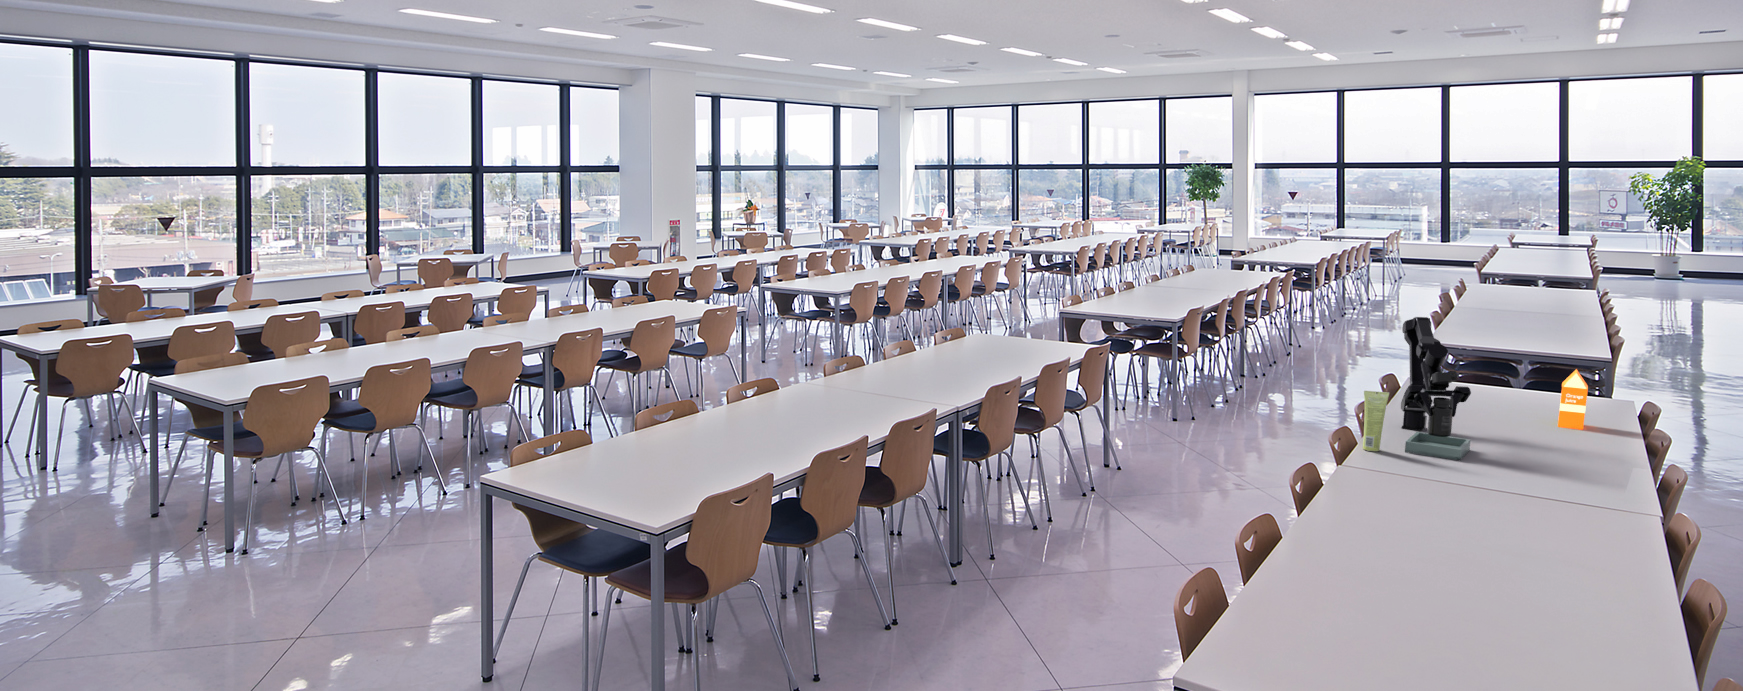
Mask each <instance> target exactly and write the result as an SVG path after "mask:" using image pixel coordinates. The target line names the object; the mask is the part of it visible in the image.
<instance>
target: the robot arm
mask: <svg viewBox="0 0 1743 691" xmlns="http://www.w3.org/2000/svg"><path fill="white" fill-rule="evenodd" d="M1402 334H1403V336H1404V337H1403V338H1404V341H1405V342H1406V344H1408V346H1409V348H1408V349H1409V385H1408V386H1407V388H1406V389H1405V392H1404V394H1403V397H1402V399H1401V401H1400V410H1401V412H1403V422H1402V426H1401V429H1405V430H1413V431H1418V432H1422V431H1423V430H1424V429H1425V428H1427V421H1428V420H1427V418H1428V417H1429V416H1431V415H1432V414H1431V409H1430V407H1431V406H1433V405H1432V404H1433V400H1434V399H1432V397H1443V398H1448V397H1449V399H1450V405H1449V407H1451V408H1452V410H1453V417H1452V418H1454V417H1455V416H1456V412H1457V406H1458V404H1459V403H1465V402H1467V400H1468V399H1469V397H1470V396H1471V394H1472V391H1471V388H1470V387H1468V386H1459V385H1458V386H1455V388H1454V389H1452V390H1451V389H1450V390H1449V389H1448V388H1449V387H1450V384H1452V383H1453V382H1454V383H1455V382H1456V381H1458V373H1457V371H1456V370H1450V371H1448V372H1446V371H1445V372H1443V370H1442V369H1443V368H1442V366H1443V365H1444V364H1445V360H1446V359H1447V356H1448V352H1449V351H1448V348H1447V347H1446V346H1445V345H1443V344H1442V343H1441V341H1440V340H1439V339H1438V338H1435V337H1434V334H1433V329H1432V321H1431V318H1430V317H1427V316H1426V317H1425V316H1415V317H1413V318H1410V319H1407V320H1405V321H1404V322H1403V323H1402ZM1426 414H1427V415H1428V416H1427V415H1426Z"/></svg>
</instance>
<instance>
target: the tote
mask: <svg viewBox="0 0 1743 691" xmlns="http://www.w3.org/2000/svg"><path fill="white" fill-rule="evenodd" d="M1471 441H1472V440H1471V439H1469V438H1463V437H1457V436H1456V437H1455V436H1449V437H1437V436H1432V435H1429V434H1428V432H1422V431H1416V432H1415V433H1414V434H1413V435H1412V436H1410V437H1409V438H1408V439H1407V440H1406V441H1405V443H1404V445H1405V446H1404V453H1407V452H1409V454H1414V453H1415V454H1416V455H1420V454H1421V456H1427V457H1433V456H1434V458H1440V457H1441V459H1446V458H1447V459H1448V460H1452V461H1453V460H1454V461H1459V460H1460V461H1461V460H1462V459H1463V458H1464V457H1465V456H1466V455H1465V454H1468V453H1469V451H1471V448H1470V447H1471ZM1415 454H1414V455H1415Z"/></svg>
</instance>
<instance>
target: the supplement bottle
mask: <svg viewBox="0 0 1743 691" xmlns="http://www.w3.org/2000/svg"><path fill="white" fill-rule="evenodd" d="M1432 400H1433V402H1432V404H1433V405H1431V407H1430V409H1431V414H1432V415H1431V416H1429V415H1428V420H1427V421H1428V422H1427V433H1428V434H1429V435H1432V436H1437V437H1451V436H1452V430H1453V429H1452V428H1453V418H1454V417H1453V410H1452V408H1451V407H1449V405H1450V398H1448V397H1443V396H1434V397H1433V399H1432Z"/></svg>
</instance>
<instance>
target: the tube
mask: <svg viewBox="0 0 1743 691" xmlns="http://www.w3.org/2000/svg"><path fill="white" fill-rule="evenodd" d="M1389 397H1390V391H1388V392H1386V391H1374V390H1364V391H1363V398H1364V420H1363V421H1364V422H1363V423H1364V425H1363V441H1362V450H1365V451H1368V452H1379V451H1380V447H1381V440H1382V434H1383V427H1384V422H1385V421H1384V420H1385V415H1386V409H1387V405H1388V401H1389V400H1388V399H1389Z"/></svg>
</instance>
